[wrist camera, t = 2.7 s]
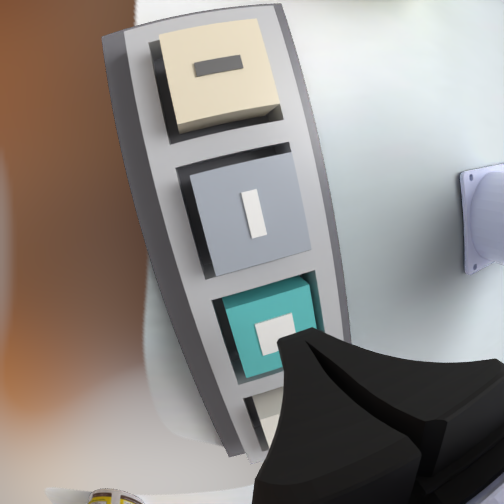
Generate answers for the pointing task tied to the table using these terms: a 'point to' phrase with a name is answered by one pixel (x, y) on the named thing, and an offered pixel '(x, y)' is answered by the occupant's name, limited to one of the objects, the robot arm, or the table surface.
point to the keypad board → (187, 216)
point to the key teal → (268, 321)
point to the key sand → (218, 74)
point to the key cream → (269, 411)
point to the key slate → (251, 212)
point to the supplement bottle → (113, 497)
